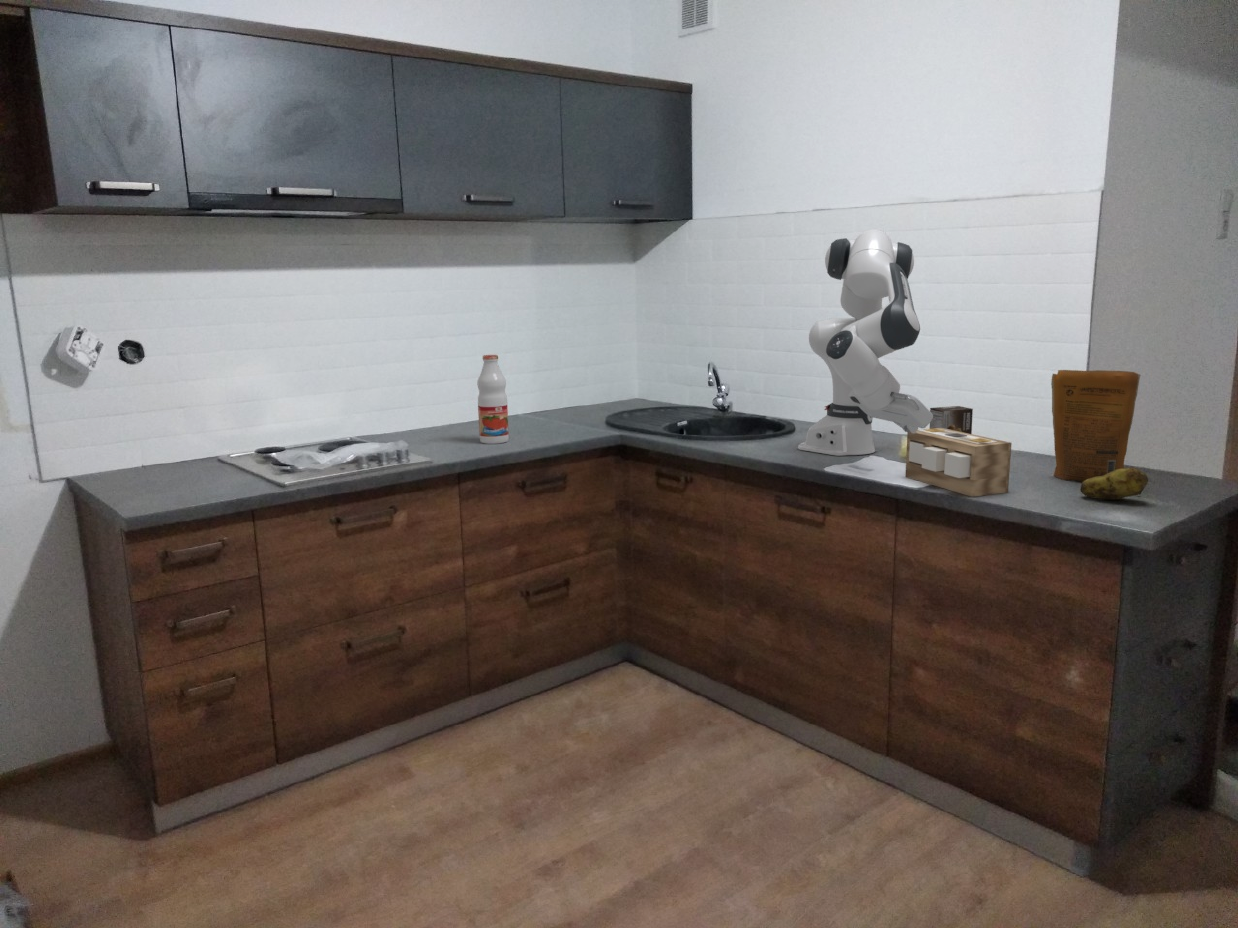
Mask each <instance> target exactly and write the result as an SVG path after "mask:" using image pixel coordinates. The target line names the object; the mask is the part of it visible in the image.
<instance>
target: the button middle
mask: <svg viewBox="0 0 1238 928" xmlns="http://www.w3.org/2000/svg"><path fill="white" fill-rule="evenodd" d="M946 453H948V448H944V447H939V446H935V447H926V448H923V450H922V468H924V469H928V470H932V471H935V472H936V471H944V469H945V454H946Z"/></svg>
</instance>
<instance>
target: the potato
mask: <svg viewBox="0 0 1238 928" xmlns="http://www.w3.org/2000/svg"><path fill="white" fill-rule="evenodd" d="M1148 483H1149V477H1148V476H1147V474H1146V473H1145V472H1143V471H1142V470H1141V469H1138V468H1135V467H1124V468H1121V469H1117V470H1114V471H1112V472H1110V473H1108V474H1106V475H1103V476H1097V477H1093V478H1090V479H1087V480H1085V481H1083V482H1081V484H1080V492H1081V494H1082V495H1084V496H1086V497H1087V498H1091V499H1092V498H1093V499H1094V498H1095V499H1101V500H1120V499H1125V498H1127V497H1133V496H1138V495H1141V494H1142V492H1143V491H1144V489H1145V488H1146V486H1147V485H1148Z"/></svg>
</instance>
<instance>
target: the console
mask: <svg viewBox="0 0 1238 928" xmlns="http://www.w3.org/2000/svg"><path fill="white" fill-rule="evenodd" d="M906 433H907V434H906V435H907V436H906V437H907V438H906V452H905V453H906V454H905V455H906V456H905V457H906V458H905V474H904V475H905V478H909V479H912V480H915V481H919V482H922V483H925V484H929V485H932V486H935V487H939V488H942V489H944V490H949V491H952V492H954V493H959V494H962V495H965V496H969V497H972V498H975V497H981V496H988V495H995V494H996V495H997V494H1002V493H1003V494H1004V493H1009V486H1010V472H1011V471H1010V469H1011V456H1012V445H1013V444H1012V442H1010V441H1004V440H1000V439H996V438H991V437H987V436H981V435H977V434H973V433H972V434H968V433H964V432H959V431H954V430H950V429H945V428H933V429H929V428H922V429H918V430H917V432H916V433H915V434H913V433H909V432H906ZM911 441H919V442H923V443H925V448H926V447H935V446H939V447H944V448H948V453H954V452H964V453H968V454H972V458H971V474H970V477H964V478H957V477H953V476H950V475H946V474H944V471H936V472H935V471H932V470H928V469H924V468H922V464H918V463H915V462H911V461H909V447H910V442H911Z"/></svg>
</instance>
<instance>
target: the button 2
mask: <svg viewBox="0 0 1238 928" xmlns="http://www.w3.org/2000/svg"><path fill="white" fill-rule="evenodd" d="M971 458H972V454H968V453H964V452H954V453H946V454H945V469H944V474H946V475H950V476H953V477H957V478H964V477H970V474H971Z"/></svg>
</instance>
